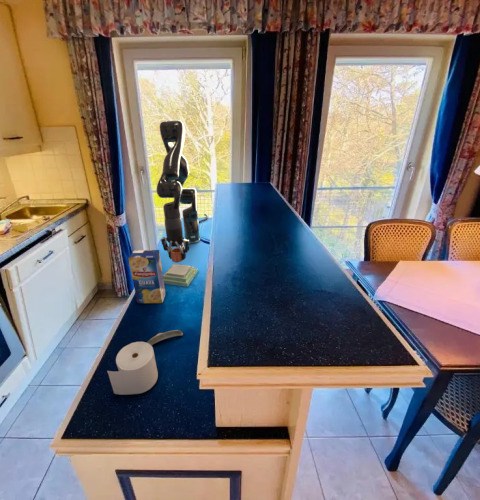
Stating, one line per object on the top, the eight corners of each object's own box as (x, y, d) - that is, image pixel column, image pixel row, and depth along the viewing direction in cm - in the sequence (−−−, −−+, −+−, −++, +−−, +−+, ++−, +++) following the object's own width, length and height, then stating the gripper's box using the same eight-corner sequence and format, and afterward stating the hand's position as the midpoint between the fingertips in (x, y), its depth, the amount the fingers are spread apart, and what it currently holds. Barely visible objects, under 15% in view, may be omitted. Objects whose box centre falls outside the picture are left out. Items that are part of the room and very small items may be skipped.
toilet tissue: (163, 368, 89) (159, 344, 84) (145, 402, 78) (139, 377, 74) (134, 362, 91) (128, 339, 87) (112, 394, 81) (104, 370, 77)
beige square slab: (174, 266, 142) (174, 263, 141) (191, 268, 139) (190, 265, 138) (166, 275, 134) (166, 272, 133) (184, 277, 131) (183, 275, 131)
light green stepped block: (172, 268, 146) (172, 262, 144) (197, 271, 142) (197, 265, 140) (160, 283, 134) (159, 276, 132) (187, 286, 130) (186, 280, 128)
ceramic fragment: (145, 349, 96) (143, 341, 94) (142, 339, 100) (141, 331, 99) (184, 337, 101) (183, 329, 99) (180, 328, 105) (179, 320, 103)
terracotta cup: (174, 256, 136) (173, 247, 134) (185, 257, 135) (184, 248, 133) (169, 261, 132) (168, 252, 130) (180, 263, 130) (179, 253, 128)
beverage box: (141, 293, 126) (133, 250, 116) (165, 293, 126) (159, 249, 116) (137, 303, 120) (127, 258, 110) (162, 303, 120) (155, 257, 110)
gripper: (191, 223, 127) (194, 256, 135) (163, 221, 131) (167, 254, 138) (185, 230, 121) (188, 264, 128) (155, 227, 124) (160, 261, 132)
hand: (177, 258), depth 133 cm, fingers closed on terracotta cup, 5 cm apart
